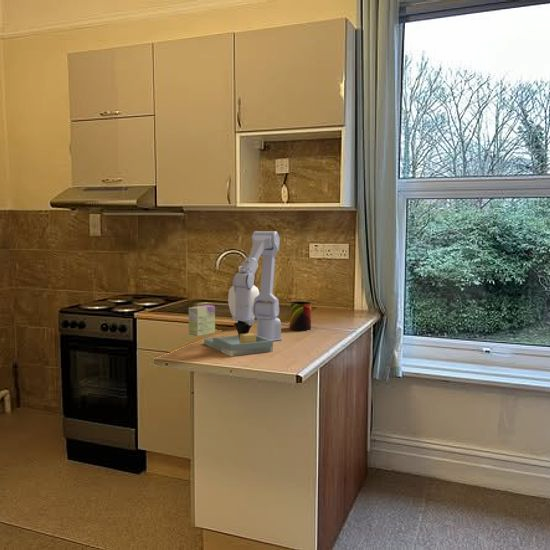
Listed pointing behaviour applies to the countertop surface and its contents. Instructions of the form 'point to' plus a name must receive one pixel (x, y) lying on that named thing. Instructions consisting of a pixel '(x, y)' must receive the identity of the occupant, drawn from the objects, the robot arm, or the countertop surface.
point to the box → (201, 320)
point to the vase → (232, 299)
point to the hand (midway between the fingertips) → (243, 341)
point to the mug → (300, 316)
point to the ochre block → (247, 338)
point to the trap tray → (239, 345)
